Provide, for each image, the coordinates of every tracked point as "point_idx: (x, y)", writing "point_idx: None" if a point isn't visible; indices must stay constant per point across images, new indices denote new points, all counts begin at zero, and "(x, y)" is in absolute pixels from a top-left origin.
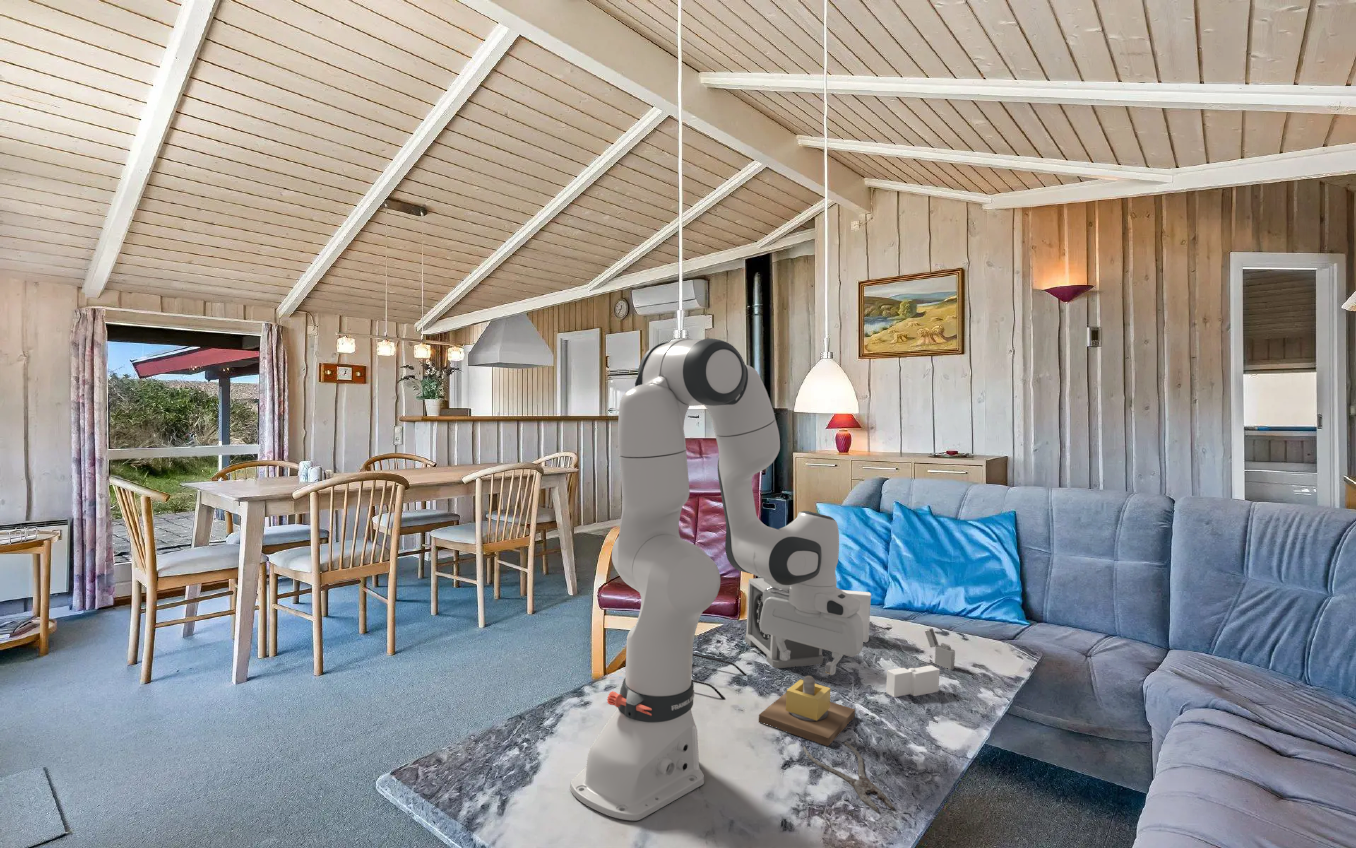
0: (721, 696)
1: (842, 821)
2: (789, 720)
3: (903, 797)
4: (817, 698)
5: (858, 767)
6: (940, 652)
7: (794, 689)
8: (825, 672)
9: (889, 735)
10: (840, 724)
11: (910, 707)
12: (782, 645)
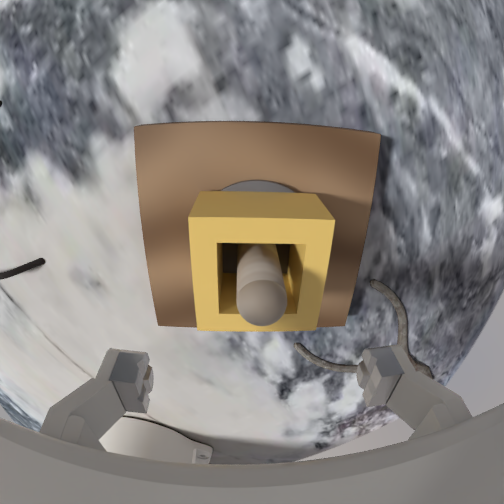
0: (35, 266)
1: (376, 419)
2: None
3: (448, 353)
4: (311, 322)
5: (399, 341)
6: None
7: (215, 311)
8: (357, 375)
9: (453, 186)
10: (360, 252)
11: (463, 11)
12: (100, 419)
